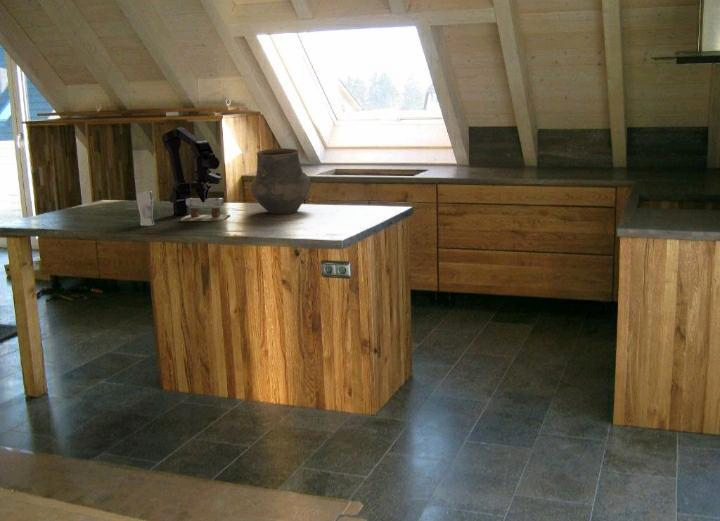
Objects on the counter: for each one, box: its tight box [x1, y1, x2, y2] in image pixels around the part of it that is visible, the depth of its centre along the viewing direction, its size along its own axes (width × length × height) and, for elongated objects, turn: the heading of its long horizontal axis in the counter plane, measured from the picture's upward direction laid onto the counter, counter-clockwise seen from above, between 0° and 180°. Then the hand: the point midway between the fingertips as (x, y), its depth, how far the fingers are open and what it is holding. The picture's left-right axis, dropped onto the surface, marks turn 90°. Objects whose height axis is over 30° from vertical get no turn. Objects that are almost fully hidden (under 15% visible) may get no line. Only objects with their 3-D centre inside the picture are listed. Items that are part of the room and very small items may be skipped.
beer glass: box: [136, 190, 155, 227], centre depth 373 cm, size 7×7×15 cm
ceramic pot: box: [250, 147, 311, 215], centre depth 396 cm, size 28×28×30 cm
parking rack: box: [180, 207, 231, 222], centre depth 386 cm, size 20×11×5 cm, turn 81°
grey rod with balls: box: [186, 197, 225, 207], centre depth 385 cm, size 18×4×3 cm, turn 81°
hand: (204, 201), depth 385 cm, fingers closed on grey rod with balls, 3 cm apart
